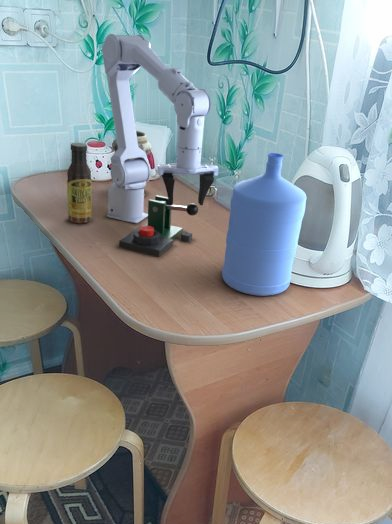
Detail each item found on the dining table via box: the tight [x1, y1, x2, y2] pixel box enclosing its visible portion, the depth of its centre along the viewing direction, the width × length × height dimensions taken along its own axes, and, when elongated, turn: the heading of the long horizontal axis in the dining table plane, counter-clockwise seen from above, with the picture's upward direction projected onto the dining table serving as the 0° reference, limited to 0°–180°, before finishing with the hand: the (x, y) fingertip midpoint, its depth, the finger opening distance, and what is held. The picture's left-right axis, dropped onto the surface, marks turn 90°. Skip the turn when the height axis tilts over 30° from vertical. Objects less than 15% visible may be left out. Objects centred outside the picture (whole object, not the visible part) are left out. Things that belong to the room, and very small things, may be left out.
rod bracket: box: [135, 194, 184, 241], centre depth 134 cm, size 10×9×9 cm
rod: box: [156, 200, 199, 217], centre depth 131 cm, size 12×3×3 cm, turn 68°
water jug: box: [221, 152, 307, 297], centre depth 110 cm, size 16×16×28 cm
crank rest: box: [179, 231, 193, 243], centre depth 134 cm, size 2×2×2 cm
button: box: [138, 225, 154, 237], centre depth 127 cm, size 4×4×2 cm
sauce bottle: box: [66, 142, 92, 224], centre depth 135 cm, size 6×6×20 cm
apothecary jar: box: [111, 130, 152, 197], centre depth 158 cm, size 12×12×18 cm
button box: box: [118, 228, 174, 258], centre depth 128 cm, size 11×8×4 cm
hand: (185, 203), depth 127 cm, fingers open, 7 cm apart
